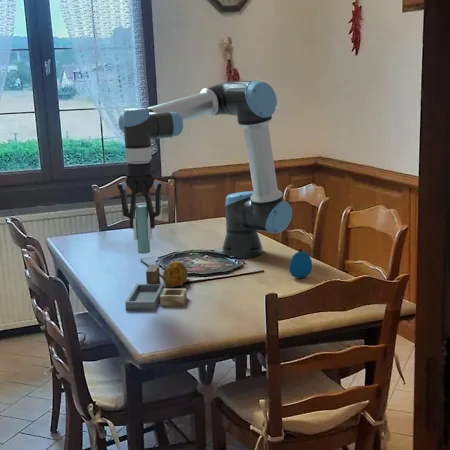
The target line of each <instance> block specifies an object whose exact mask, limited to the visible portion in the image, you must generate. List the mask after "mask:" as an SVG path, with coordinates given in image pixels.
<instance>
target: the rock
mask: <svg viewBox="0 0 450 450" xmlns="http://www.w3.org/2000/svg"><path fill="white" fill-rule="evenodd" d="M162 280H163V282H164V285H165V287H168V288H174V287H181V286H183V285H184V284H185V283H186V282H187V280H188V269H187V266H185V265H184V264H183V263H182V262H180V261H173V262H171V263H169V264H168V265H167V266H166V267H165V268H164V271H163V272H162Z"/></svg>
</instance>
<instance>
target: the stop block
mask: <svg viewBox="0 0 450 450" xmlns="http://www.w3.org/2000/svg"><path fill="white" fill-rule="evenodd" d="M145 276H146V284H161V283H160V282H161V275H160V264H150V265H149V266H148V268H147V269H146V271H145Z"/></svg>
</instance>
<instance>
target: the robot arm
mask: <svg viewBox="0 0 450 450" xmlns="http://www.w3.org/2000/svg"><path fill="white" fill-rule="evenodd" d="M277 103H278V99H277V94H276V92H275V90H274V88H273V87H272V86H271V85H270V84H269V83H267V82H265V81H259V80H230V81H226V82H222V83H221V82H220V83H218V84H215V85H213V86H209V87H206V88H203V89H202V90H200V91H199V93H195V94H192V95H189V96H185V97H181V98H178V99H174V100H171V101H170V100H169V101H168V102H167V101H166V102H163V103H159V104H157V105H152V106H149V107H133V108H132V107H130V108H126V109H124V111H123V112H122V113H121V114H120V116H119V117H118V127H119V130H120V131H121V132H122V133H123V134H124V135H123V137H124V150H125V151H124V152H125V153H124V155H125V161H126V164H125V165H126V166H125V168H126V178H125V180H124V182H119V184H117V190H119V193H120V200H121V201H120V202H121V208H122V216H123V217H125V218H128V219H129V228H130V229H131V230H133V240H134V241H137V225H136V208H135V207H136V206H137V201H138V200H137V199H138V194H143V197H144V199H145V204H146V206H147V208H148V218H147V225H148V240H149V241H151V240H152V239H153V229H155V227H156V219H155V218H156V217H159V216H160V215H161V212H162V209H161V208H162V207H161V206H162V204H161V203H162V188H163V187H164V184H163V182H161V181H160V182H158V181H156V180H155V178H154V175H153V163H152V159H153V157H152V140H157V139H158V140H159V139H167V138H169V139H171V138H172V137H173V138H174V137H177V136H180V135H181V133H183V131H184V130H183V129H184V122H187V121H191V120H194V119H197V118H200V117H202V116H206V117H213V116H218V115H222V116H224V115H225V116H226V115H227V116H236V118H237V123H238V125H239V126H240V127H241V128H243V135H244V139H245V145H246V146H245V147H246V153H247V158H248V159H247V160H248V165H249V172H250V177H251V184H252V190H251V191H239V192H234V193H230V194H228V195H227V196H226V198H225V205H224V208H225V225H226V227H225V228H226V233H225V234H226V235H225V237H224V240H223V244H222V248H221V250H222V252H223V253H222V252H221V253H222V255H223V254H225V255H228V256H234V257H237V258H236V259H248V258H254V257H259V256H261V255H263V244H262V241H261V239H260V236H259V233H258V231H260V232H261V231H262V232H267V233H270V234H271V233H273V234H280V233H282V232H283V231H285V230H286V229H287V228H288V226H289V225H290V223H291V220H292V217H293V208H292V206H291V204H290V203H289V202H288V201H286V200H285V199H284V193H283V191H281V190H280V189H278V182H277V174H276V169H275V167H276V166H275V162H274V155H273V148H272V141H271V133H270V127H269V123H270V122H271V121H272V120H273V117H272V115H273V114H274V113H275V112H276V107H277V106H278V104H277ZM153 186H154V187H153ZM127 187H128V188H129V189H130V191H131V197H130V198H131V199H130V207H129V203H128V196H127ZM152 187H153V188H154V189H155V196H154V199H155V201H154V202H155V203H154V204H155V205H154V206H153V200H152V197H151V191H150V190H151V189H152ZM154 207H155V208H154ZM225 255H224V256H225Z"/></svg>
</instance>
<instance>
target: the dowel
mask: <svg viewBox="0 0 450 450" xmlns="http://www.w3.org/2000/svg"><path fill="white" fill-rule="evenodd" d="M135 208H136V209H135V217H136V225H137V240H136V241H137V252H138V254H143V255H144V254H149V253H150V252H151V245H150V244H151V243H150V242H151V240H148V225H147V218H148V217H149V213H148V208H147V205H145V204H143V205H136V207H135Z"/></svg>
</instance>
